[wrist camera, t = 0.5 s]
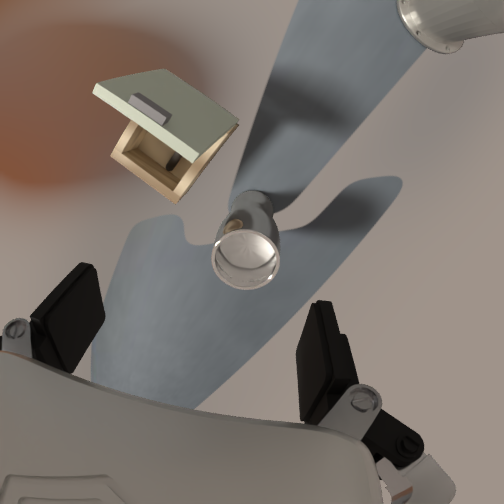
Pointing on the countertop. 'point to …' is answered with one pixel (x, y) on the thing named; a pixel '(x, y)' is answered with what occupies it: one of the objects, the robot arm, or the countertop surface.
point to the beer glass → (247, 243)
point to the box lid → (168, 110)
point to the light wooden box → (161, 161)
